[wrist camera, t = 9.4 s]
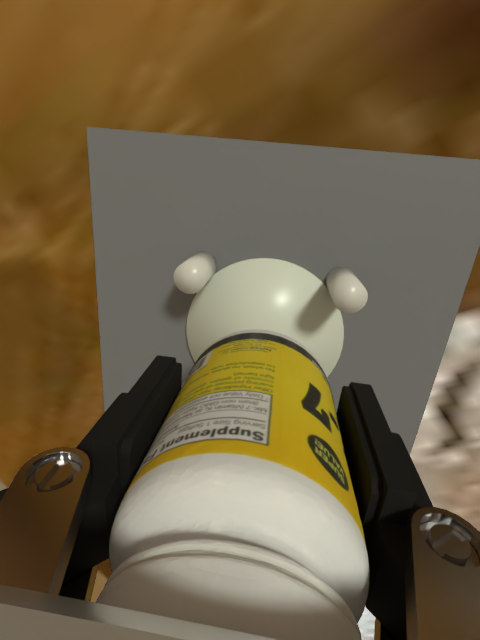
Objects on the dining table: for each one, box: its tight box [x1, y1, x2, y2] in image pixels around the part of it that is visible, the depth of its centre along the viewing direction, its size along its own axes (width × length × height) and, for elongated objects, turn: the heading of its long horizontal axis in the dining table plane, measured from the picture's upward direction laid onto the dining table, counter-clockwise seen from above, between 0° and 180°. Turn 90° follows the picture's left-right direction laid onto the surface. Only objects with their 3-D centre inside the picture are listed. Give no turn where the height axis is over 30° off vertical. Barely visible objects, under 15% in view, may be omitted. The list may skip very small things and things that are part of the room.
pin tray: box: [87, 127, 480, 455], centre depth 16 cm, size 16×16×4 cm
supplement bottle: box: [96, 330, 369, 640], centre depth 8 cm, size 5×5×8 cm
